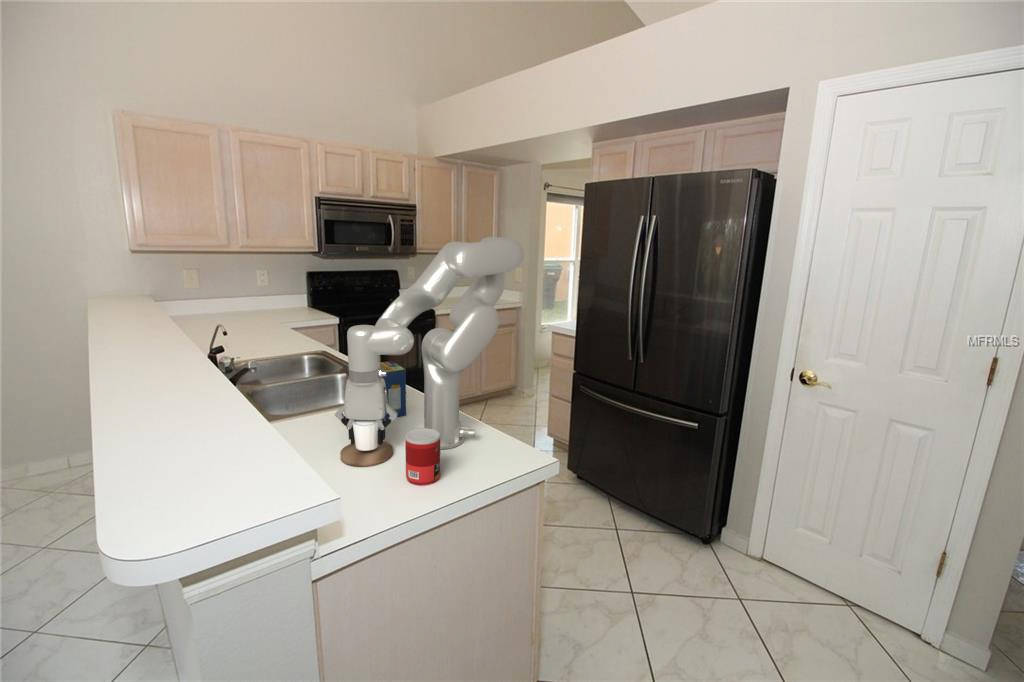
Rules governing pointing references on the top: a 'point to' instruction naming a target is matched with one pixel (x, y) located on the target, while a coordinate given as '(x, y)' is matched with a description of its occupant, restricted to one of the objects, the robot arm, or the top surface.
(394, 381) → the protein box
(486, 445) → the top surface
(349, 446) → the brown round coaster
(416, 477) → the canned food
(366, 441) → the white cup
